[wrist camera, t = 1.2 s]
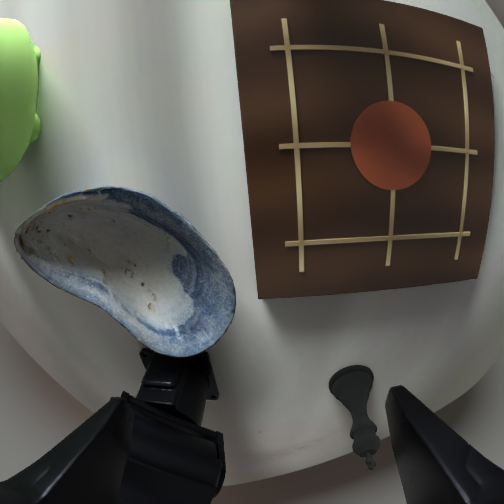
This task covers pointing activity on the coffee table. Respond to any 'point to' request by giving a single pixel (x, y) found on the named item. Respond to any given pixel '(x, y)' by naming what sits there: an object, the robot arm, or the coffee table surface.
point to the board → (363, 144)
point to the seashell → (133, 266)
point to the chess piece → (357, 408)
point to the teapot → (17, 93)
